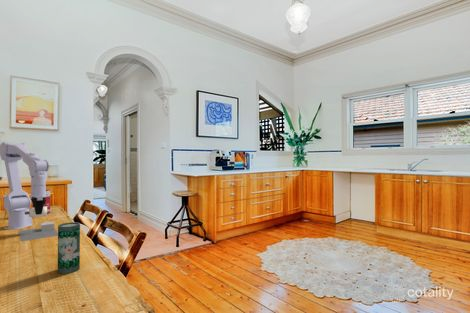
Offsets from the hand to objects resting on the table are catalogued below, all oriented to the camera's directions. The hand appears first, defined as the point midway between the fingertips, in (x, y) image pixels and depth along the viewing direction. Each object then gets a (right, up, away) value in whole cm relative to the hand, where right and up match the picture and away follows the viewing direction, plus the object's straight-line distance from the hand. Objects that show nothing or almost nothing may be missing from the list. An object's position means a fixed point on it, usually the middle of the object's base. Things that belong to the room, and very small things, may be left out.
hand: (38, 213), depth 129 cm
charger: (+1, -9, +5) cm, 10 cm away
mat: (+1, -9, -2) cm, 10 cm away
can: (+40, -10, -40) cm, 58 cm away
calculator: (-26, -9, +38) cm, 47 cm away
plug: (0, -1, 0) cm, 1 cm away
